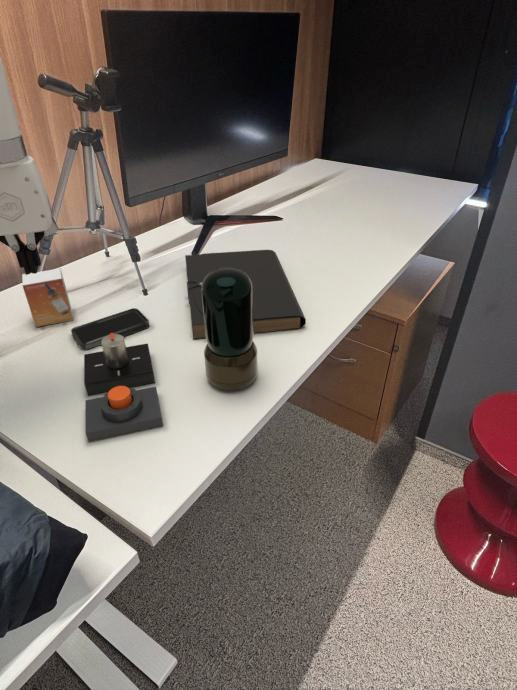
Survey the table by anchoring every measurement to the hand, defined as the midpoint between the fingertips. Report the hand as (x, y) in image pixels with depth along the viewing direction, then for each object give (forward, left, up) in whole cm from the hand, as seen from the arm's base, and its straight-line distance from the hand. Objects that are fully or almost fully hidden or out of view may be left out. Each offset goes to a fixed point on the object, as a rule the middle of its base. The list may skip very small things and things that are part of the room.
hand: (32, 270), depth 77 cm
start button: (+10, -14, -19) cm, 26 cm away
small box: (-3, +23, -23) cm, 32 cm away
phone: (+9, +14, -23) cm, 28 cm away
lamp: (+30, -9, -23) cm, 39 cm away
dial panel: (+10, -2, -23) cm, 25 cm away
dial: (+10, -2, -19) cm, 22 cm away
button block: (+10, -14, -23) cm, 28 cm away
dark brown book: (+39, +20, -23) cm, 49 cm away
